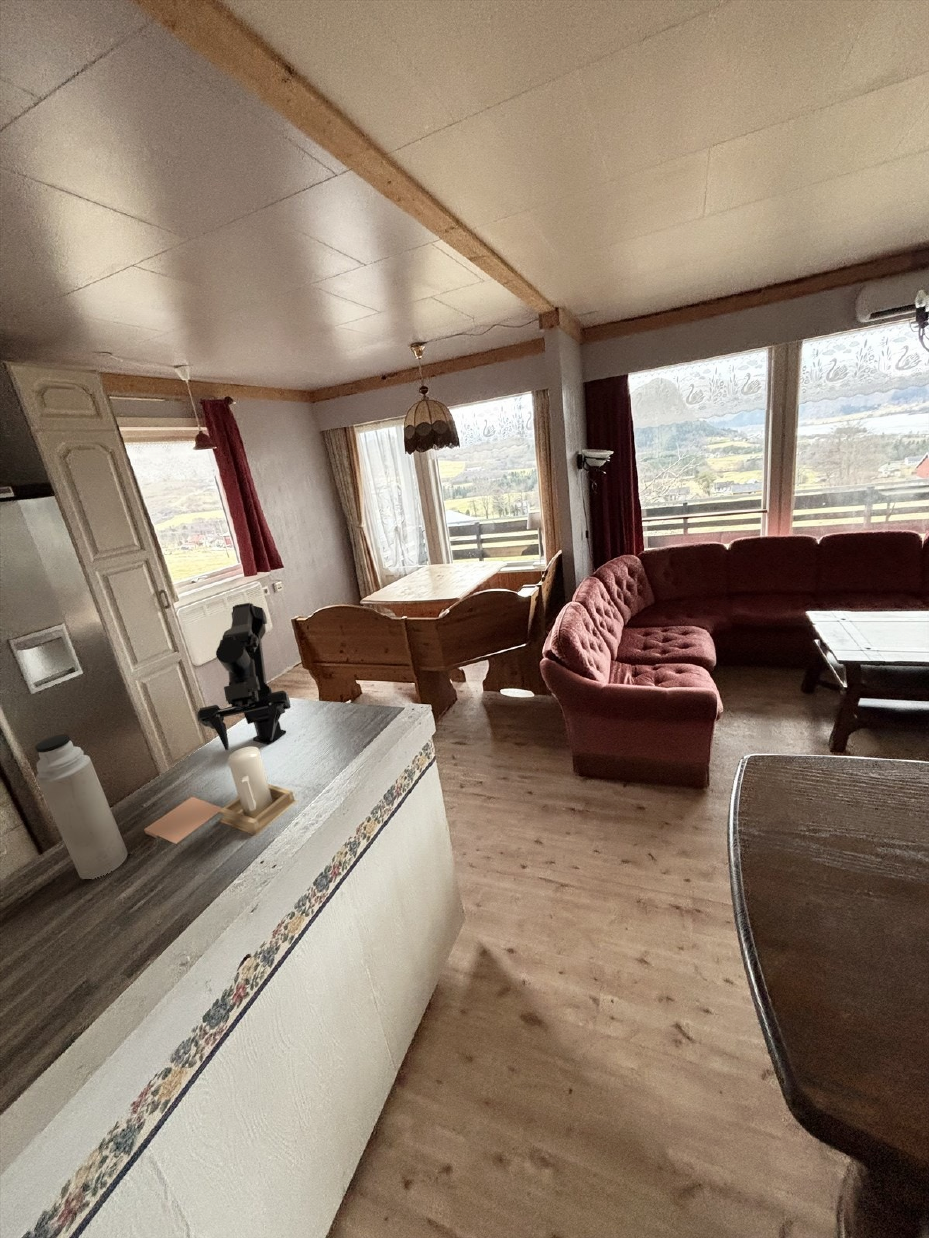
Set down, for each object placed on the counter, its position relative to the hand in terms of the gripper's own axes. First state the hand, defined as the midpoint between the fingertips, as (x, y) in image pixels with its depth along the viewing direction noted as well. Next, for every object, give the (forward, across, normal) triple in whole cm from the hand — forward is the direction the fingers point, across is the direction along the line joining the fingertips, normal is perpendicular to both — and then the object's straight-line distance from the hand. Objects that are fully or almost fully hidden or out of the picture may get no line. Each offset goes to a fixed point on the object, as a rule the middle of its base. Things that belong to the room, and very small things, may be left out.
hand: (249, 744), depth 109 cm
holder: (+14, 0, +4) cm, 15 cm away
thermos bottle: (+16, -29, +3) cm, 33 cm away
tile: (+11, -16, +7) cm, 21 cm away
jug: (+14, 0, +3) cm, 15 cm away
